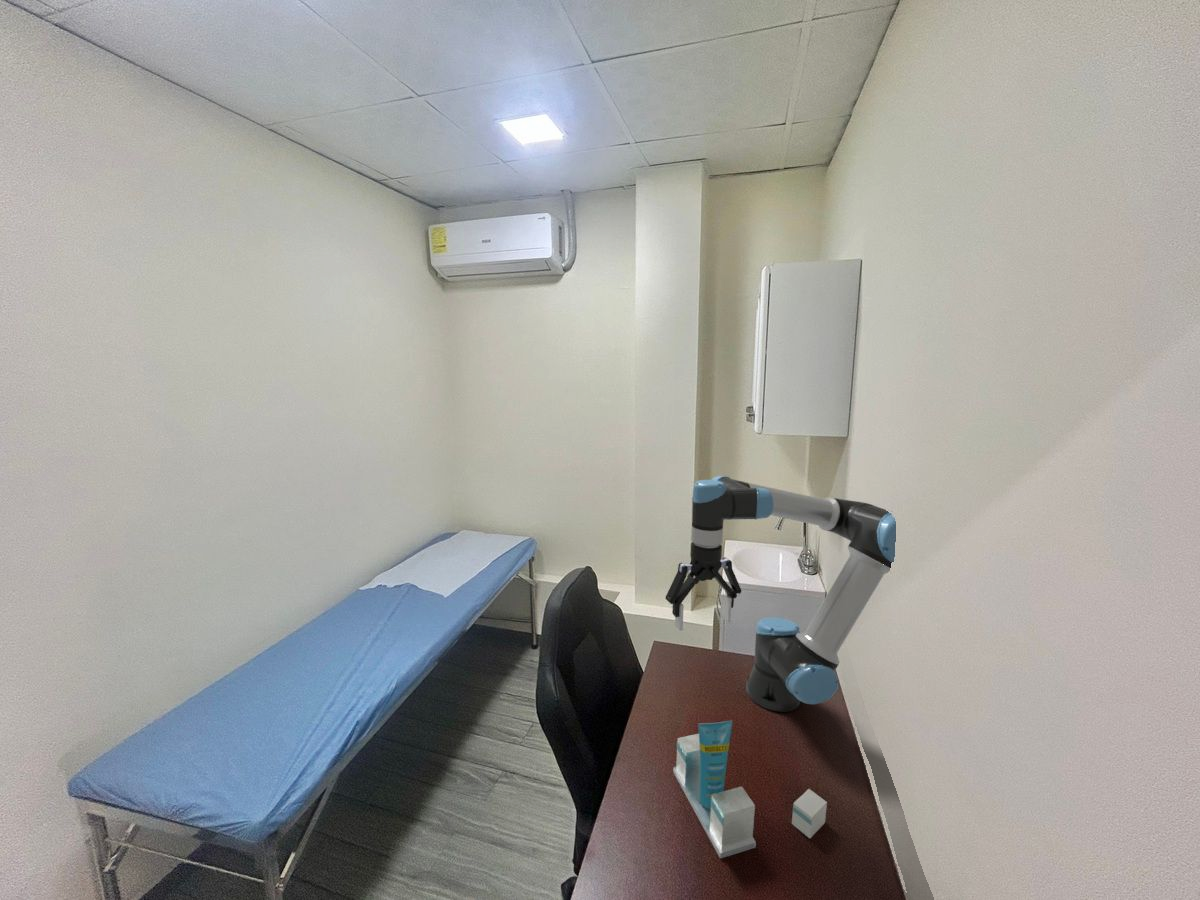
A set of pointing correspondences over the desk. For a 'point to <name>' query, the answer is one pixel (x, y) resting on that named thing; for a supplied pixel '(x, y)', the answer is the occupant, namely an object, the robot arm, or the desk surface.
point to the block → (809, 813)
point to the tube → (713, 758)
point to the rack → (715, 804)
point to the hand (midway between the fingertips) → (702, 623)
